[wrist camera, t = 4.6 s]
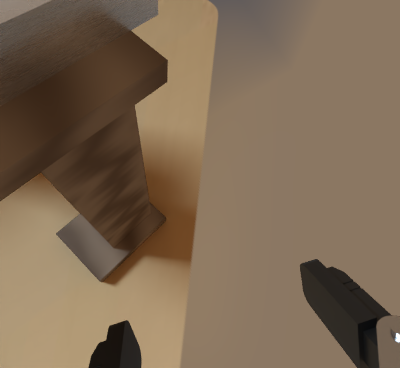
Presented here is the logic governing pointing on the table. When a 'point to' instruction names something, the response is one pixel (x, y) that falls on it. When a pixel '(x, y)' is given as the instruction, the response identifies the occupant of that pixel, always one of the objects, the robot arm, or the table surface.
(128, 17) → the beige long bar
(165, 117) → the table surface
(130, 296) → the table surface
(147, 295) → the table surface
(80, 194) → the walnut stand
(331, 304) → the robot arm
